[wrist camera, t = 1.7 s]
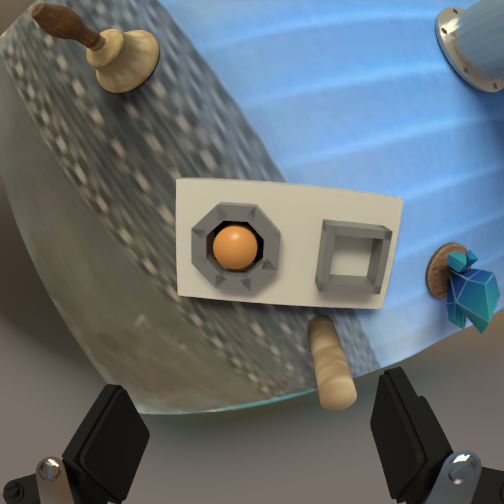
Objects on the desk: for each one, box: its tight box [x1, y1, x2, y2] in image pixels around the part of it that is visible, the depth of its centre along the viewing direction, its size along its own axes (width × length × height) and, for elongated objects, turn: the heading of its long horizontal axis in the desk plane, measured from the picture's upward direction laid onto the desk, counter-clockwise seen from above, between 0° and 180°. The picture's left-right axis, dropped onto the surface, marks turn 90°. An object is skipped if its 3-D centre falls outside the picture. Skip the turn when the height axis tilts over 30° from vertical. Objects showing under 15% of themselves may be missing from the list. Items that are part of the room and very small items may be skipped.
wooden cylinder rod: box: [307, 315, 357, 411], centre depth 27 cm, size 3×3×12 cm
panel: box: [176, 178, 403, 309], centre depth 27 cm, size 22×12×5 cm, turn 87°
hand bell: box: [31, 3, 159, 93], centre depth 17 cm, size 8×8×16 cm
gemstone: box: [426, 243, 500, 334], centre depth 24 cm, size 7×9×12 cm
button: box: [213, 223, 258, 269], centre depth 27 cm, size 4×4×2 cm
